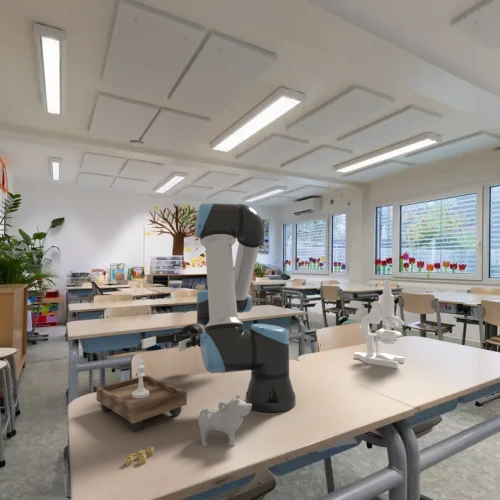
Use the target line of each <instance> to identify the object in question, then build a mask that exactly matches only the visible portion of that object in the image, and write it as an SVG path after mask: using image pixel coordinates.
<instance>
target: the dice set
mask: <svg viewBox="0 0 500 500" xmlns="http://www.w3.org/2000/svg"><path fill="white" fill-rule="evenodd" d="M154 451H155V450H154V446H148V447H146V450H145V449H140V450H139V451H138V457H137V453H135V452H132V453H130V454H129V455H128V456H126V457H125V466H127V467H129V466H132V465H133V464H134V463H133V462H134V461H136V460H137V459H138V458H139V459H138V463H139V465H145V464H146V463H147V457H152V456H153V455H154V453H155V452H154Z"/></svg>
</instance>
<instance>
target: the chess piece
mask: <svg viewBox="0 0 500 500" xmlns="http://www.w3.org/2000/svg"><path fill="white" fill-rule="evenodd" d="M143 363H144V360H143V359H139V362H138V366H137V372H138V374H137V375H136V377H139V383H138V389H137V390H136V391H134V392H133V393H132V397H133V398H144V397H147V396H149V395H150V393H149V391H148V390H146V389H145V388H144V386H143V376H145V375H146V374H145V373H144V370H145V365H143Z"/></svg>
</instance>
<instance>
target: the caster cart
mask: <svg viewBox="0 0 500 500" xmlns="http://www.w3.org/2000/svg"><path fill="white" fill-rule="evenodd" d="M144 375H145V376H143V386H144V388H145V389H146V390H148V391H149V393H150V395H149V396H147V397H144V398H133V397H132V393H133V392H134V391H136V390H137V389H138V383H139V377H138V376H136V377H134V378H129V379H126V380H122V381H118V382H114V383H111V384H107V385H106V384H105V385H103V386H99V387H96V401H97V402H99V403H101V404H100V409H101V410H102V411H103V412H105V413H108V412H111V411H113V412H114V413H116V414H117V415H119V416H121V418H123V419H125V420H126V421H127V422H128V428H129V429H130V430H131V431H133V432H137V431H139V430H141V428H142V426H143V421H144V420H147V419H150V418H153V417H156V416H158V415H159V416H160V415H161V414H165V413H166V412H169V414H170V415H171V416H173V417H178V416H179V415H180V414H181V412H182V407H184V406H187V405H188V403H187V399H188V398H187V396H188V395H187V394H188V393H187V391H185V390H183V389H180V388H178V387H176V386H173V385H171V384H169V383H167V382H165V381H162V380H159V379H157V378H154V377H152V376H150V375H148V374H147V375H146V374H144Z"/></svg>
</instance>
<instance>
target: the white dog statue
mask: <svg viewBox="0 0 500 500" xmlns="http://www.w3.org/2000/svg"><path fill="white" fill-rule="evenodd" d="M240 397H242V396H241V394H237V395H235V397H234V398H231V399H230V401H229V402H228V403H227V402H226V401H223V400H222V401H219V403H218V404H217V408H218V410H211V409H209V408H202V409H201V410H200V412H199V416H198V419H197V422H198V423H197V424H198V427H199V429H200V431H199V434H200V439H201V440H200V441H201V446H203V447H207V446H208V445H209V443H208V442H207V439H208V438H210V437H211V435H210V433H209V432H211V431H219V432H224V433H225V434H227V436H228V442H229V447H230V448H234V447H236V443H235V439H237V435H236V431H237V430H238V429H239V428H240V427H241V426H242V423H243V421H244V418H243V417H245V416H248V415H249V414H250V412H251V410H252V409H251V406H252V404H248V403H246V400H243V399H240Z"/></svg>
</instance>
